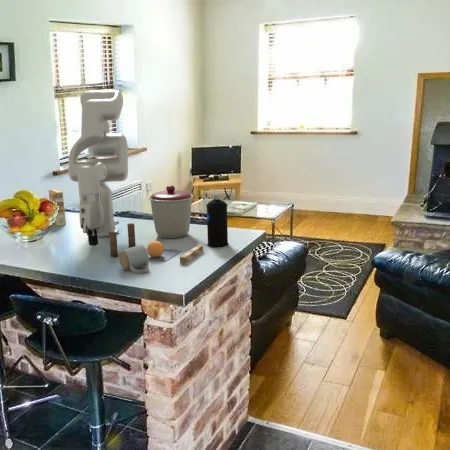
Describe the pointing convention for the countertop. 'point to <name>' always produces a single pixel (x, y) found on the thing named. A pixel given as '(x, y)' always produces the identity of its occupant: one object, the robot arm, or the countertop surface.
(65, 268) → the countertop surface
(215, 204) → the aerosol can
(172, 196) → the canister
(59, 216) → the candy box
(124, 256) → the ceramic mug
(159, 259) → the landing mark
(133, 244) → the post
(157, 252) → the ball
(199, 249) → the wall
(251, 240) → the countertop surface
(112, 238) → the post
